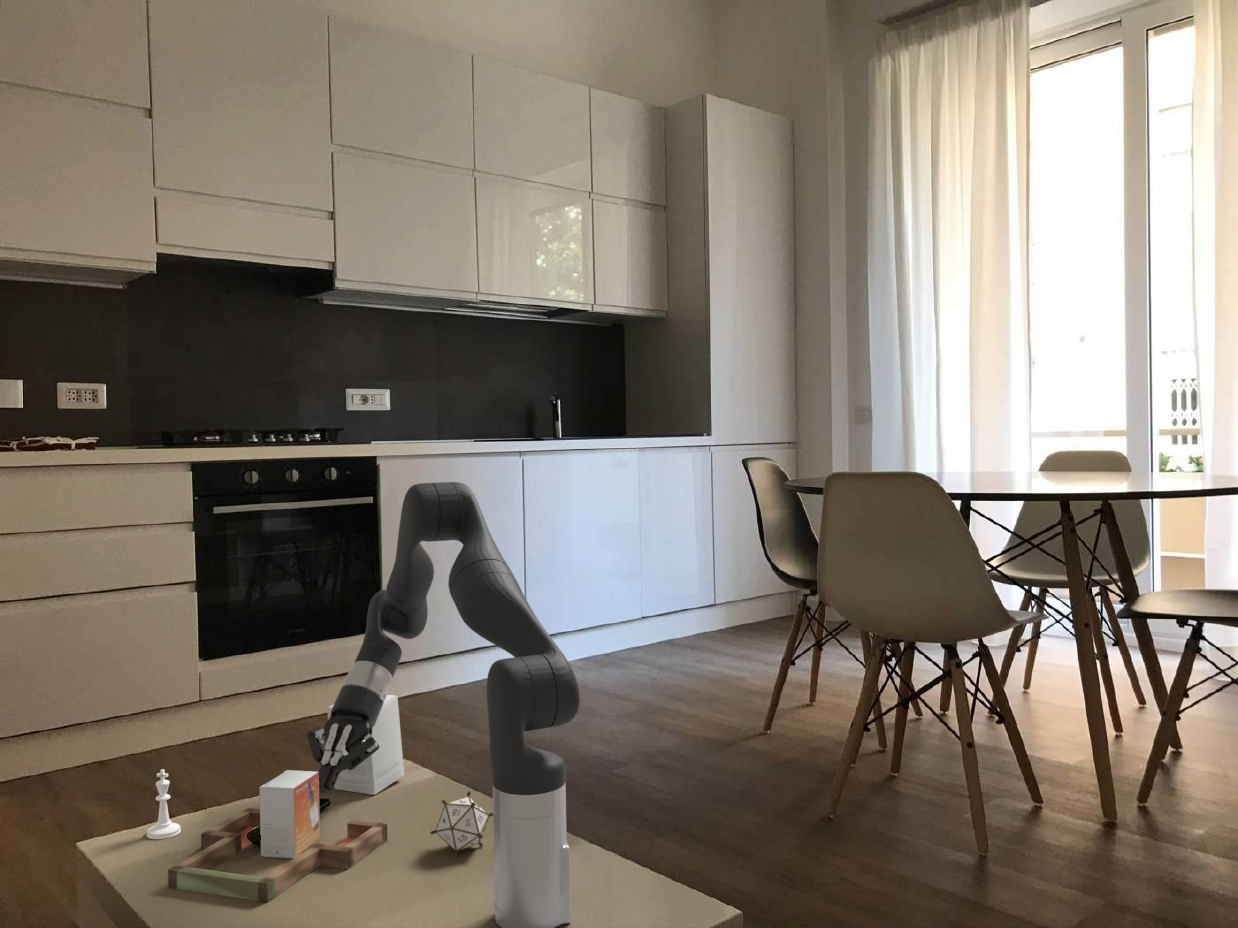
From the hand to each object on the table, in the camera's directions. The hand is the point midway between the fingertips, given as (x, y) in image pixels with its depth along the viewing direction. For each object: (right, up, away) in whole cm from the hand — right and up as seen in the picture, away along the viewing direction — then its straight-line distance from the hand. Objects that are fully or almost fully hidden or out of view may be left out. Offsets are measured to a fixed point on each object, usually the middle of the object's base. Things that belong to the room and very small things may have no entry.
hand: (321, 790), depth 162 cm
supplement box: (+3, -5, +20) cm, 21 cm away
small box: (-2, -6, -8) cm, 10 cm away
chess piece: (-24, -6, -2) cm, 25 cm away
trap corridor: (-4, -6, -13) cm, 15 cm away
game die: (+24, -6, -9) cm, 26 cm away
